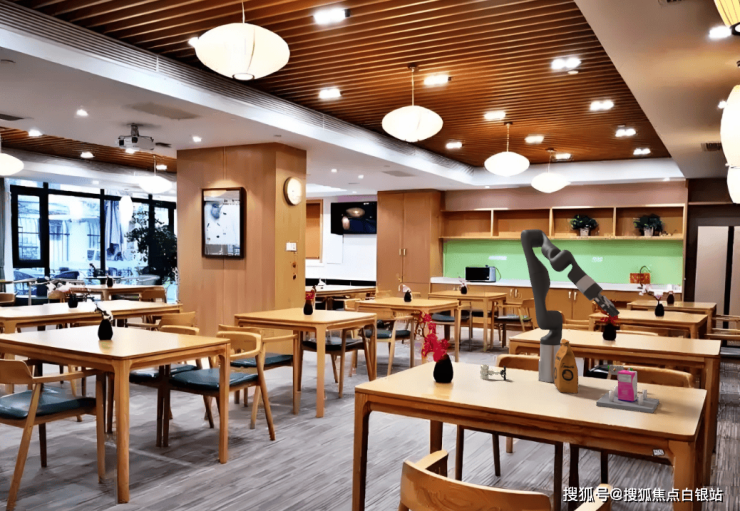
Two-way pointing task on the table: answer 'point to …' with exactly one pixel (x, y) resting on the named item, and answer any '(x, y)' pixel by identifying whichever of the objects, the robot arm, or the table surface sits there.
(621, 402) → the peg cradle
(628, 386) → the supplement box
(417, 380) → the table surface
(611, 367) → the mechanical component
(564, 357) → the coffee package
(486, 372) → the valve
